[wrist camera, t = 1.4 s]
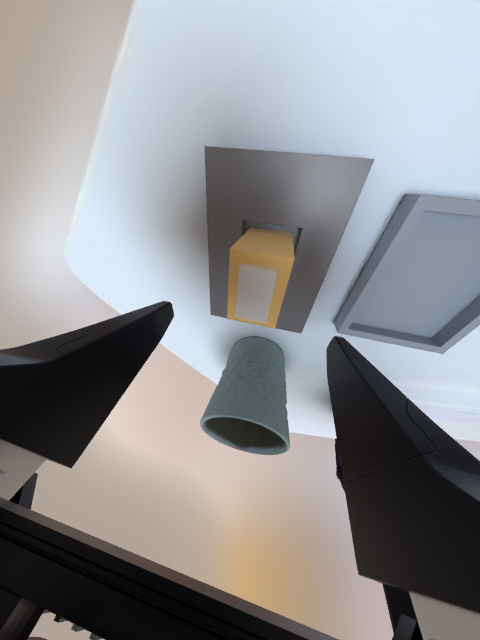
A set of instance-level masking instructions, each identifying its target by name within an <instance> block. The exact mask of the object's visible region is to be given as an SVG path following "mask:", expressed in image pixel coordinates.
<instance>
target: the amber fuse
mask: <svg viewBox="0 0 480 640" xmlns="http://www.w3.org/2000/svg"><path fill="white" fill-rule="evenodd" d="M294 259H295V256H294V245H293V234H292V232H286V231H279V230H271V229H264V228H256V227H251V228H250V229H249V230H248V231H247V232H246V233H245V234H244V235H243V236H242V237H241V238H240V239H239V240H238V241H237V242H236V243H235V244H234V245H233V246H232V247H231V248H230V259H229V283H228V308H227V319H232V320H237V321H241V322H246V323H251V324H256V325H261V326H266V327H270V328H275V327H276V323H277V319H278V316H279V312H280V309H281V305H282V302H283V298H284V295H285V291H286V287H287V284H288V280H289V277H290V273H291V270H292V266H293V263H294Z"/></svg>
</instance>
